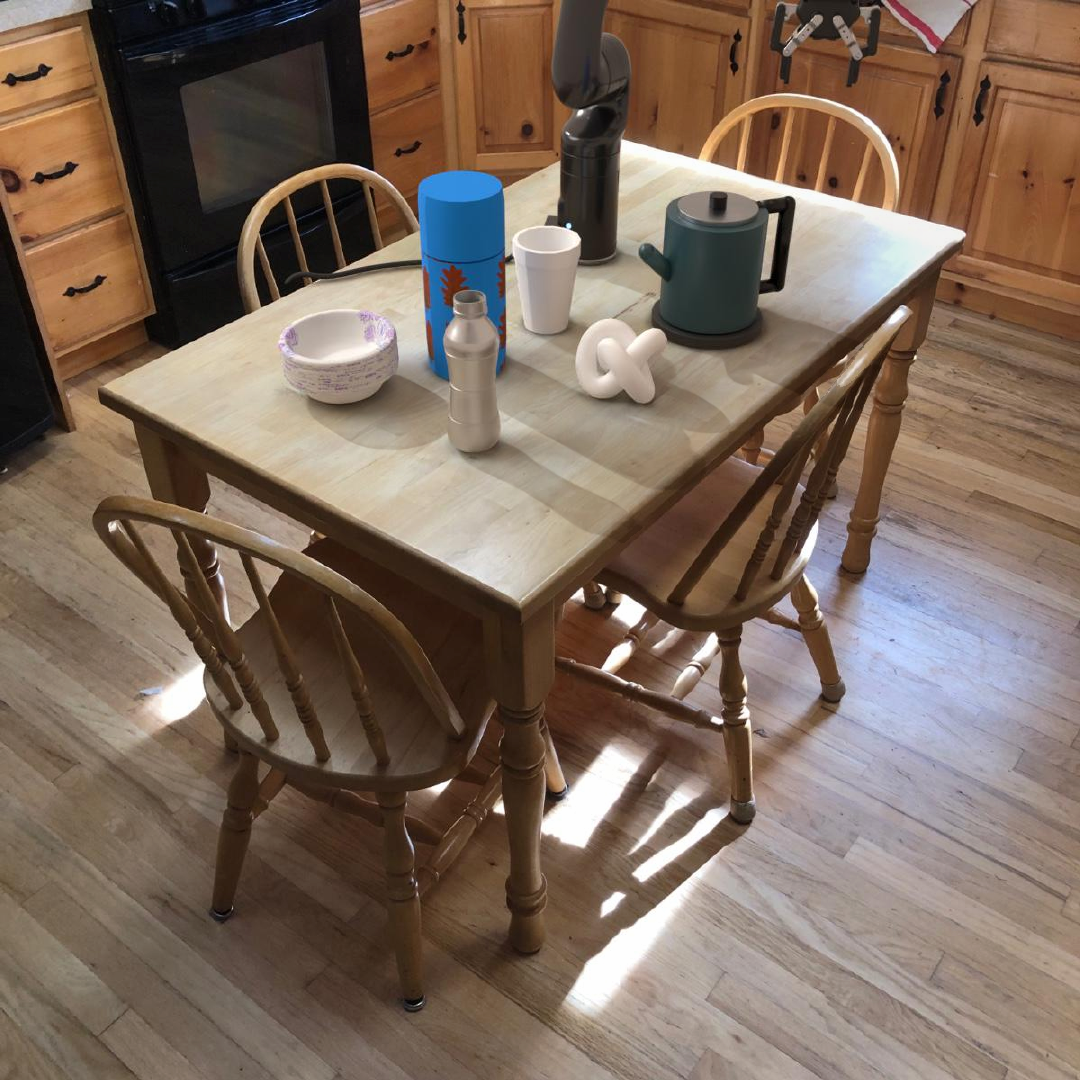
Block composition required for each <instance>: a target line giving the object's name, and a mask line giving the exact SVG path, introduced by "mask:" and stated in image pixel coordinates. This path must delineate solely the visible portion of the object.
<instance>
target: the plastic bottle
mask: <svg viewBox="0 0 1080 1080" xmlns="http://www.w3.org/2000/svg"><path fill="white" fill-rule="evenodd" d="M453 304H454V306H453V313H454V314H455V315H456V316H455V317H454V318H453V320H452V321H451V322H450V324H449V326H448V327H447V329H446V330H445V334H444V338H443V342H444V348H445V354H446V359H447V364H448V370H449V379H450V380H449V406H448V413H447V418H446V425H445V429H446V434H447V437H448V441H449V442H450V444H451V445H452V446H453V447H454V448H455V449H457V450H459V451H461V452H465V453H482V452H485V451H488V450H490V449H491V448H494V446H495V445H496V443H497V442H498V441H499V439H500V435H501V430H502V423H501V417H500V413H499V410H498V409H499V408H498V402H497V391H496V378H497V377H496V376H497V374H496V364H497V357H498V351H499V342H500V337H499V334H498V331H497V328H496V327H495V325H494V324H493V323H492V321H491V320H490V319H489V318H488V317H487V316H486V315H485V314H486V313H487V305H486V296H485V294H484V293H482V292H480V291H476V290H465V291H460V292H458V293H456V294H455V295H454V297H453Z"/></svg>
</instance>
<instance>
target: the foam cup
mask: <svg viewBox="0 0 1080 1080" xmlns="http://www.w3.org/2000/svg"><path fill="white" fill-rule="evenodd" d="M511 241H512V242H511V243H512V247H511V248H512V252H513V257H514V259H513V260H514V265H515V272H516V279H517V285H518V292H519V293H518V294H519V299H520V305H521V312H522V313H521V314H522V319H523V320H522V321H523V325H524V327H525V329H527V331H530V332H531V333H534V334H535V333H536V334H538V335H539V334H540V335H553V334H558V333H561V332H563V331H564V330H566V329H567V327H568V325H569V320H570V314H571V308H572V301H573V295H574V290H575V289H574V288H575V284H576V283H575V282H576V276H577V270H578V265H579V264H578V260H579V257H580V254H581V239H580V237H579V236H578V234H577V233H576V232H573V231H571V230H569V229H567V228H562V227H557V226H544V225H537V226H531V227H526V228H524V229H522V230H520V231H517V232H516V233H515V234H514V236H513V237H512V239H511Z"/></svg>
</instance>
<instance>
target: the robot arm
mask: <svg viewBox="0 0 1080 1080" xmlns="http://www.w3.org/2000/svg"><path fill="white" fill-rule="evenodd" d="M609 2H610V0H560V5H559V12H558V19H557V25H556V30H555V37H554V43H553V49H552V55H551V65H550V66H551V67H550V77H551V83H552V88H553V91H554V93H555V95H556V97H557V99H558V100H559V102H560V103H561V104H562V105H563V106H564V107H566V108H567V109H569V110H573V113H572V114H571V116H570V117H569V119H568V120H567V122H565V124H564V125H563V126H562V128H561V132H560V148H559V152H560V154H559V159H560V161H559V166H560V167H559V197H558V199H557V206H556V208H557V209H556V210H557V212H556V215H551V214H549V215H547V217H546V220H545V222H544V224H543V226H557V227H562V228H567V229H569V230H571V231H573V232H576V233H577V234H578V236H579V237H580V239H581V254H580V257H579V260H578V265H583V266H592V265H593V266H594V265H603V264H605V263H609V262H610V261H612V260H614V259H615V258H616V256H617V254H618V248H617V245H618V243H617V242H618V221H619V220H618V219H619V198H620V197H619V196H620V174H621V155H622V154H621V153H622V139H623V136H624V134H625V131H626V129H627V126H628V119H629V110H630V109H629V108H630V99H631V88H632V64H631V63H632V62H631V57H630V54H629V51H628V48H627V47H626V46H625V44H624V42H623V41H622V40H621V39H620V38H619V37H618V36H617V35H615V34H612V33H610V32H604V23H605V19H606V17H605V16H606V12H607V8H608V4H609ZM794 14H796V18H797V19H798V21H799V22H800V23H799V25H798V27H797V28H796V29H795V30H794V31H793V32H792V34H791V35H790V36H789V38H787V40H785V41H783V40H781V38H782V32H783V27H784V22H788V21H789V20H790V19H791V16H792V15H794ZM861 17H862V18H863V21H864V24H865V25H866V26H868V27H867V37H866V44H863V45H860V44H859V42H858V40H857V39H856V36H855V34H854V32H853V30H852V29H851V27H853V25H854V24H855V23H856V22H857V21H858V20H859V19H860V18H861ZM881 18H882V11H881V7H880V6H879V5H878V4H873V5H872V6H860V2H859V0H799V1H798V3H789V2H788V3H787V2H785V1H784V0H777V2H776V5H775V11H774V17H773V22H772V27H771V33H770V38H769V48H770V50H771V51H772V52H777V53H779V54H780V56H781V57H780V65H779V74H778V75H779V79H780V80H782V81H783V85H789V84H790V78H791V70H792V64H793V63H792V62H793V53H794V52H795V50H796V49H797V48H799V46H801V45H802V44H803V43H804V42H805V41H806V40H807V39H808V38H810V39H812V41H821V40H827V41H829V42H831V41H832V42H836V41H837V40H839V39H842V40H843V42H844V45H845V46H846V47H847V49H848V50H849V52H850V54H851V55H850V56H849V59H848V64H847V71H846V76H845V88H848V89H852V87H853V84H857V82H858V80H859V74H860V69H861V62H862V60H863V59H864V58H866V57H867V58H868V57H874V56H875V55H876V54H877V52H878V45H879V37H880V36H879V35H880V27H881ZM513 260H515V259H514V257H513V251H512V252H511V254H509V255H507V256H505V264H507V263H509V262H511V261H513ZM413 266H422V259H409V260H397V261H389V262H383V263H376V264H369V265H365V266H359V267H356V268H352V269H346V270H343V271H337V272H331V273H317V272H312V271H299V272H298V271H297V272H295V273H292V274H291V275H290V276H289V277H288V278H287V279H286V280H285V282H284V284H287V285H289V284H292V283H293V282H294V281H296V280H299V279H301V278H308V279H314V280H326V281H327V280H334V279H341V278H345V277H349V276H354V275H358V274H362V273H366V272H372V271H378V270H384V269H385V270H386V269H393V268H401V267H402V268H403V267H413Z"/></svg>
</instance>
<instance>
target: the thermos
mask: <svg viewBox="0 0 1080 1080" xmlns="http://www.w3.org/2000/svg"><path fill="white" fill-rule="evenodd" d="M503 187H504V186H503V184H502V181H501V180H500V179H499V178H497V177H496V176H494V175H492V174H490V173H489V174H488V173H485V172H481V171H474V170H451V171H445V172H444V171H443V172H439V173H435V174H431V175H430V176H428V177H426V178H424V179H422V180H421V182H420V183H419V185H418V192H417V206H418V224H419V238H420V239H419V240H420V241H419V242H420V255H421V260H422V265H421V270H422V271H421V272H422V285H423V286H422V287H423V288H422V289H423V305H424V321H425V337H426V344H427V353H428V362H429V369H430V370H431V371H432V372H433V374H435V375H436V376H438V377H440V378H441V379H444V380H448V381H450V379H449V370H448V364H447V359H446V354H445V348H444V342H443V338H444V334H445V330H446V329H447V327H448V326H449V324H450V322H451V321H452V320H453V318H454V317H455V316H456V315H455V314H454V313H453V306H454V304H453V297H454V295H455V294H456V293H458V292H460V291H465V290H476V291H480V292H482V293H484V294H485V296H486V305H487V313H486V314H485V315H486V316H487V317H488V318H489V319H490V320H491V321H492V323H493V324H494V325H495V327H496V328H497V331H498V334H499V337H500V342H499V351H498V357H497V364H496V375H498V374H499V373H500V372H502V371H503V369H504V367H505V365H506V357H507V285H506V284H507V283H506V279H507V278H506V277H507V276H506V263H505V257H506V220H505V219H506V218H505V217H506V213H505V212H506V211H505V195H504V188H503Z"/></svg>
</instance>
